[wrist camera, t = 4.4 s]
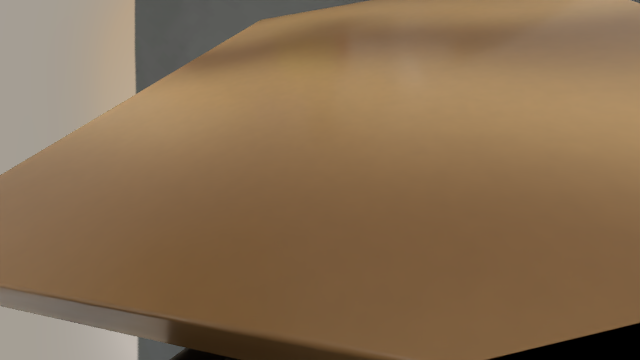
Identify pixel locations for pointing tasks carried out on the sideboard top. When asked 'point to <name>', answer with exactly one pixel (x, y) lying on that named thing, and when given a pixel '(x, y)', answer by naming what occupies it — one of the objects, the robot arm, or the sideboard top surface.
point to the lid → (357, 191)
